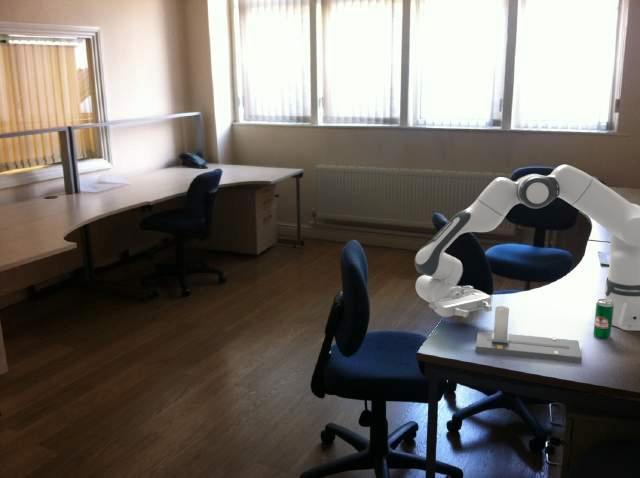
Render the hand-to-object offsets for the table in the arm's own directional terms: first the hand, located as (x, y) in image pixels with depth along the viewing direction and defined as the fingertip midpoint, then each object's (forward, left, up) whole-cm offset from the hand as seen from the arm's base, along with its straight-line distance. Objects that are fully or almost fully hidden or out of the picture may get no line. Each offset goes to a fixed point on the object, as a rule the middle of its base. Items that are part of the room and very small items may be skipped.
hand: (478, 311), depth 203 cm
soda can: (-38, -9, -8) cm, 40 cm away
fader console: (-15, +7, -8) cm, 19 cm away
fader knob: (-7, +7, -6) cm, 11 cm away
